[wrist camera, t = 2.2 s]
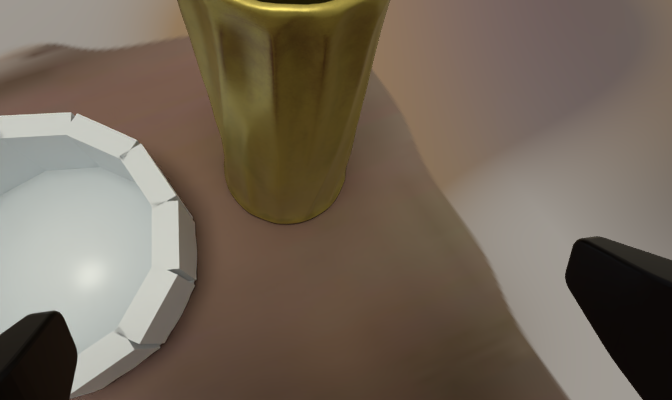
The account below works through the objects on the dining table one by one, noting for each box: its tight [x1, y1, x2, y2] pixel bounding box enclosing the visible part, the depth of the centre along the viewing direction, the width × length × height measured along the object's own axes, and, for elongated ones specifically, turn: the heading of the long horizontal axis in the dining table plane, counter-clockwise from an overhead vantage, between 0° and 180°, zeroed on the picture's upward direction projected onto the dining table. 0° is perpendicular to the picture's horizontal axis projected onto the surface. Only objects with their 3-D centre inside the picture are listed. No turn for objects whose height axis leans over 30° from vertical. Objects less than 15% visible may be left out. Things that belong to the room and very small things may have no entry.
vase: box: [177, 0, 390, 224], centre depth 16 cm, size 6×6×14 cm
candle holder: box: [0, 112, 197, 399], centre depth 18 cm, size 11×11×4 cm
